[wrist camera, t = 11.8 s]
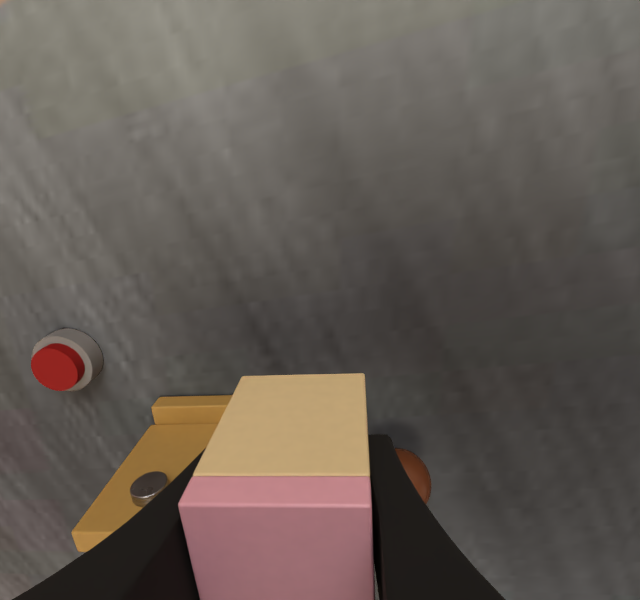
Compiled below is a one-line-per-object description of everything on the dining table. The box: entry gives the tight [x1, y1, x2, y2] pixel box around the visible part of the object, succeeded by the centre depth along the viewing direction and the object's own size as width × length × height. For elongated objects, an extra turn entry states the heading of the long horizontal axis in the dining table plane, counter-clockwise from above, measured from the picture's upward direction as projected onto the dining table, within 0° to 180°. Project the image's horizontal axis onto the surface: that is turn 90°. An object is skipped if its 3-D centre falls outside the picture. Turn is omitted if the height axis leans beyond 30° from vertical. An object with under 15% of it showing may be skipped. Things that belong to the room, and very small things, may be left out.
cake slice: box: [178, 373, 375, 600], centre depth 11 cm, size 4×4×5 cm
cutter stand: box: [72, 395, 232, 552], centre depth 19 cm, size 4×7×7 cm, turn 4°
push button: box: [31, 328, 103, 391], centre depth 20 cm, size 3×3×2 cm
